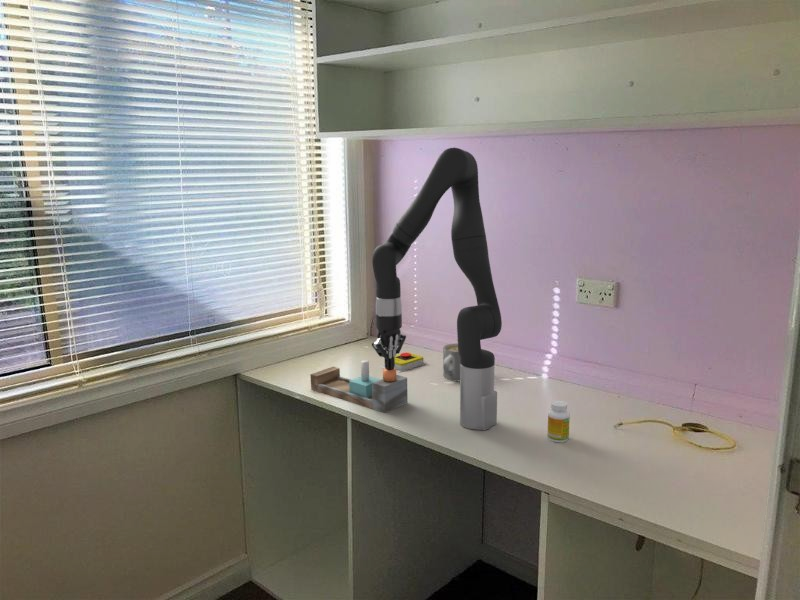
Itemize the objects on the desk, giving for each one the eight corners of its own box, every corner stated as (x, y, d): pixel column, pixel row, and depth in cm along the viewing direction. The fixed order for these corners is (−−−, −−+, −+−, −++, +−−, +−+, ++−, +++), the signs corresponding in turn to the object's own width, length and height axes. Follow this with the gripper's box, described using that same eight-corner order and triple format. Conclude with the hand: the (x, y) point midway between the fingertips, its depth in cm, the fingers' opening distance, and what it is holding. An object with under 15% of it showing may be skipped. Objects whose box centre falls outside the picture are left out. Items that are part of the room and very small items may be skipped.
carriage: (381, 392, 202) (381, 360, 200) (366, 398, 197) (365, 366, 195) (365, 387, 207) (364, 356, 204) (349, 393, 201) (348, 362, 199)
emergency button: (427, 352, 235) (397, 362, 225) (427, 364, 236) (397, 374, 226) (409, 347, 241) (379, 356, 231) (409, 359, 242) (379, 368, 232)
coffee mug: (456, 369, 228) (456, 341, 226) (478, 375, 221) (479, 347, 219) (430, 378, 219) (429, 349, 217) (452, 385, 212) (452, 355, 210)
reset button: (399, 378, 194) (399, 369, 194) (390, 382, 191) (390, 372, 191) (389, 376, 197) (389, 366, 196) (380, 379, 194) (379, 369, 193)
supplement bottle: (565, 444, 168) (566, 408, 166) (544, 440, 170) (545, 405, 168) (571, 436, 172) (572, 401, 170) (550, 432, 175) (552, 398, 173)
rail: (407, 402, 198) (407, 377, 196) (385, 412, 190) (384, 386, 189) (333, 380, 218) (332, 357, 217) (311, 389, 211) (309, 365, 209)
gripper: (394, 306, 197) (395, 361, 201) (363, 314, 187) (364, 372, 191) (413, 309, 192) (413, 366, 196) (382, 318, 183) (384, 377, 186)
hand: (389, 369), depth 194 cm, fingers closed
